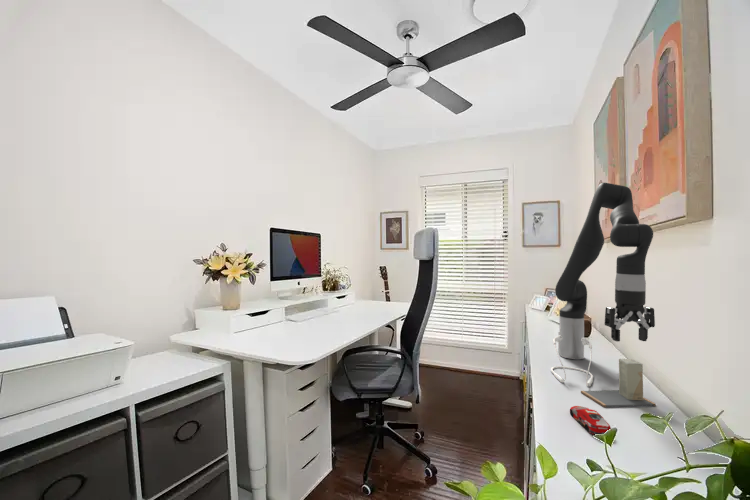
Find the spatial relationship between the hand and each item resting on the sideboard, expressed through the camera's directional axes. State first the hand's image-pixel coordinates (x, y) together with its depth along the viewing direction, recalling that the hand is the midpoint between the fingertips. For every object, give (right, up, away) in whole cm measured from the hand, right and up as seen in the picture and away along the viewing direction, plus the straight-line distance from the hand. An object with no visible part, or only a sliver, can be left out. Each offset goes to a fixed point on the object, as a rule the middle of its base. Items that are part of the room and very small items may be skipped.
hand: (629, 340), depth 103 cm
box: (0, -18, 0) cm, 18 cm away
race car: (-22, -18, -15) cm, 33 cm away
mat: (-4, -18, 0) cm, 18 cm away
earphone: (-7, -18, +18) cm, 26 cm away
